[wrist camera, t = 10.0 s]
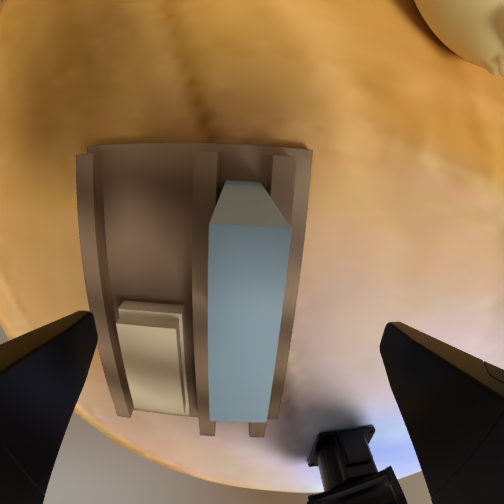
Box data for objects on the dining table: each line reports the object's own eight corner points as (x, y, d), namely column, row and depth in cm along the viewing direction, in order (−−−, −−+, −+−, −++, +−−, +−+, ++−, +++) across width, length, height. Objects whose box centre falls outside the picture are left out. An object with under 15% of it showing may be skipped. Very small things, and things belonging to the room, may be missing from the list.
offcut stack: (191, 405, 23) (188, 426, 21) (141, 400, 23) (135, 419, 21) (184, 305, 20) (178, 323, 18) (123, 300, 20) (112, 317, 18)
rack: (276, 411, 25) (280, 439, 22) (125, 400, 24) (116, 427, 21) (308, 150, 18) (323, 150, 15) (94, 146, 17) (68, 147, 14)
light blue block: (252, 290, 20) (266, 422, 10) (221, 289, 20) (209, 421, 10) (260, 182, 18) (291, 228, 8) (226, 180, 18) (209, 224, 7)
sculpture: (462, 106, 17) (570, 103, 7) (364, -18, 14) (435, -92, 4) (513, 53, 15) (594, 43, 5) (436, -49, 12) (501, -93, 2)
